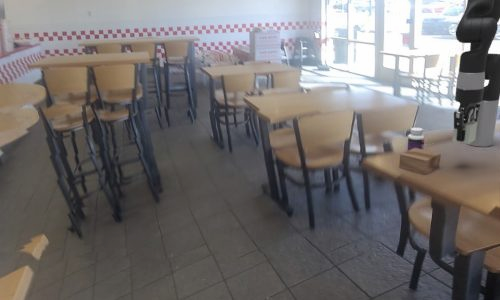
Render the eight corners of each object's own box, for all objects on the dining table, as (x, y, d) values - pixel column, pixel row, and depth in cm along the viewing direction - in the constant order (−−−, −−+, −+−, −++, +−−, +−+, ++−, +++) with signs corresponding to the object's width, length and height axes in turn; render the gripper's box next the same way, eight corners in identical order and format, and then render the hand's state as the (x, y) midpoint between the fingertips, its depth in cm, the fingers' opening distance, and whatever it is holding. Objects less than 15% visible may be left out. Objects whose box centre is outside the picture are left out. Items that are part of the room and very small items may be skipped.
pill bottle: (424, 157, 143) (426, 131, 139) (407, 157, 144) (410, 131, 141) (421, 152, 148) (423, 126, 144) (405, 152, 149) (407, 126, 146)
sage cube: (459, 137, 134) (461, 119, 132) (475, 139, 130) (477, 121, 128) (452, 140, 131) (454, 123, 129) (468, 144, 127) (470, 125, 125)
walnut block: (413, 161, 141) (414, 147, 139) (439, 167, 134) (440, 153, 132) (399, 168, 135) (400, 154, 134) (424, 175, 129) (426, 160, 127)
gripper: (467, 81, 132) (461, 131, 137) (447, 89, 123) (442, 142, 129) (492, 83, 126) (485, 135, 132) (473, 91, 118) (466, 147, 123)
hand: (464, 138), depth 130 cm, fingers closed on sage cube, 5 cm apart
